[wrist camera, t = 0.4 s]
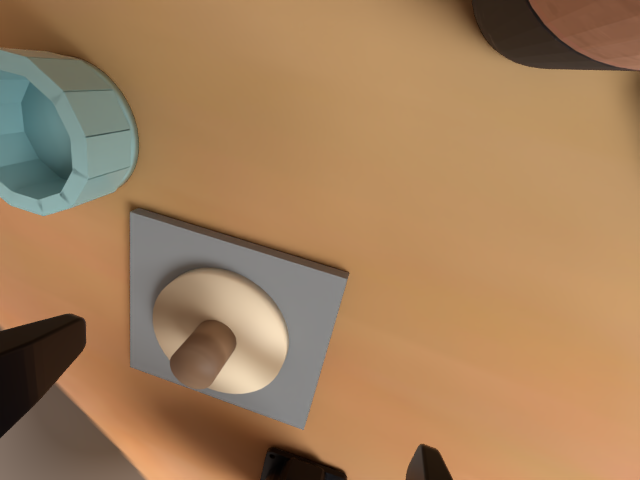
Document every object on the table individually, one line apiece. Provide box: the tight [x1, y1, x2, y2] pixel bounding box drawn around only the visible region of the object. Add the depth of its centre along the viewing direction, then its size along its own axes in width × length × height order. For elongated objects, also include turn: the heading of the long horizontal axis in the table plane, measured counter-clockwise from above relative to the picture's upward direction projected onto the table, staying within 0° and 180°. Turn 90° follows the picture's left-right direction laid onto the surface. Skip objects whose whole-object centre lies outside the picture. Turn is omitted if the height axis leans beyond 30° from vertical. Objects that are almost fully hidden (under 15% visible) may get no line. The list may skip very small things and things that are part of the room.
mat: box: [130, 208, 349, 430], centre depth 26 cm, size 13×14×1 cm
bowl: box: [0, 47, 139, 216], centre depth 21 cm, size 8×8×4 cm
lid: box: [153, 268, 289, 394], centre depth 24 cm, size 9×9×4 cm
